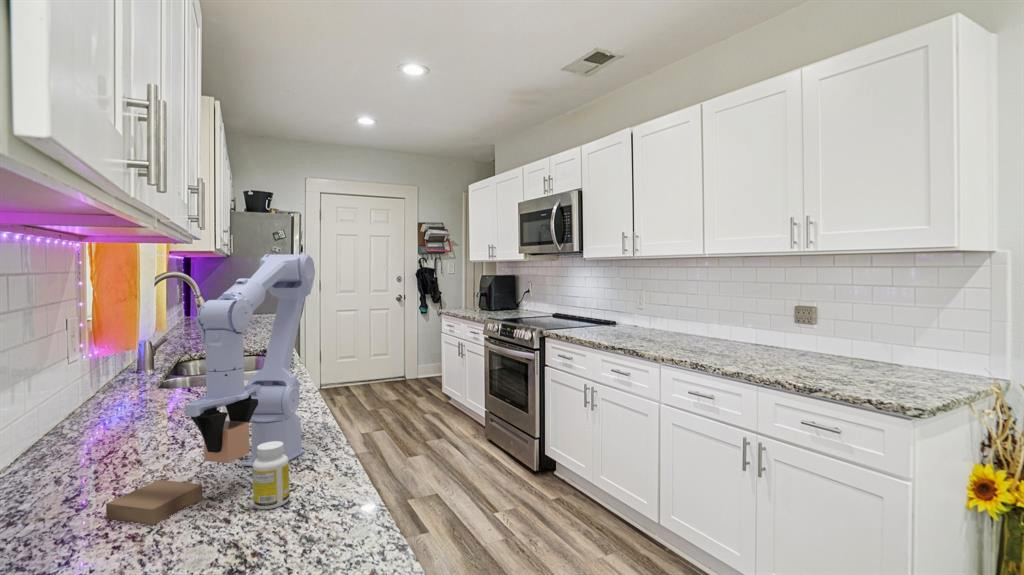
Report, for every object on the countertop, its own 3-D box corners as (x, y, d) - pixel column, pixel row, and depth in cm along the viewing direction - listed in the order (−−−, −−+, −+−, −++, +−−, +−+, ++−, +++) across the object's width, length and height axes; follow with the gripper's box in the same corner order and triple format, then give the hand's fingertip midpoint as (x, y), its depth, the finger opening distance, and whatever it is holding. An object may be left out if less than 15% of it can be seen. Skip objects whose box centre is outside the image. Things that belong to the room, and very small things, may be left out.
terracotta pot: (226, 450, 88) (225, 420, 88) (249, 452, 87) (248, 422, 87) (204, 460, 83) (203, 428, 83) (228, 463, 82) (227, 430, 82)
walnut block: (160, 496, 85) (159, 479, 85) (202, 501, 83) (202, 484, 83) (106, 522, 77) (106, 503, 77) (152, 528, 75) (152, 509, 75)
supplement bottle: (280, 492, 86) (279, 437, 86) (295, 501, 82) (294, 444, 82) (247, 503, 82) (246, 445, 81) (262, 513, 78) (261, 453, 78)
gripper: (210, 378, 77) (212, 463, 77) (274, 362, 91) (275, 434, 91) (173, 376, 78) (175, 460, 79) (241, 360, 92) (243, 431, 93)
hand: (226, 446), depth 85 cm, fingers closed on terracotta pot, 5 cm apart
